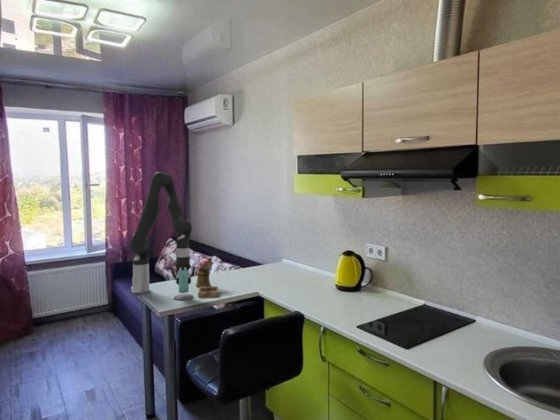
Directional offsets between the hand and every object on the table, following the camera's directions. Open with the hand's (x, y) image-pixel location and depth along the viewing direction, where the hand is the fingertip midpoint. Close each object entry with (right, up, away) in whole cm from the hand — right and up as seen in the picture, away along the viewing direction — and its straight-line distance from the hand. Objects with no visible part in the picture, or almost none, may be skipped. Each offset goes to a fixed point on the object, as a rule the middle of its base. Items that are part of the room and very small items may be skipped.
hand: (183, 283), depth 226 cm
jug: (0, -5, -1) cm, 5 cm away
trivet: (0, -8, 0) cm, 8 cm away
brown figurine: (+8, -7, +24) cm, 26 cm away
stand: (+13, -8, +7) cm, 17 cm away
